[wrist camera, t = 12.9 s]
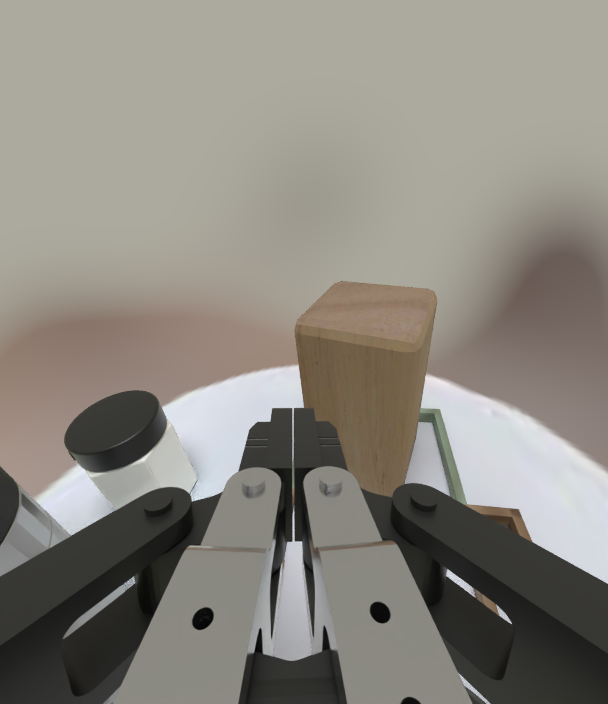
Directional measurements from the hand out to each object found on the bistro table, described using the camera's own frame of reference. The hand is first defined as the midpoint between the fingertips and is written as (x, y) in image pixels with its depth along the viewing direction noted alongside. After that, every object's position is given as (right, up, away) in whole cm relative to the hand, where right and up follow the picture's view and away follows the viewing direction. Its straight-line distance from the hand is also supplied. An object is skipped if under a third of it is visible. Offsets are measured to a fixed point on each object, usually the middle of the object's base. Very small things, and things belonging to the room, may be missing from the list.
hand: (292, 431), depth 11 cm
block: (+8, -10, +26) cm, 29 cm away
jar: (-16, -13, +24) cm, 32 cm away
